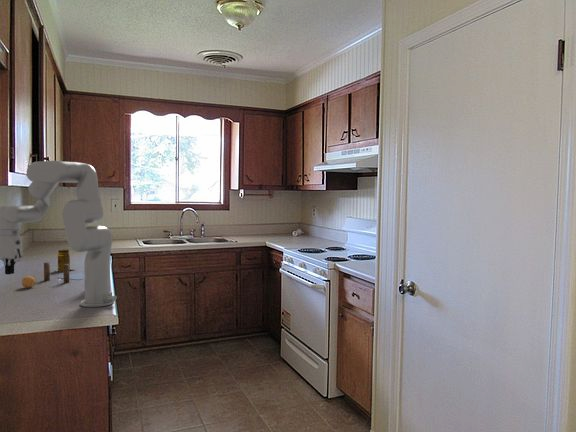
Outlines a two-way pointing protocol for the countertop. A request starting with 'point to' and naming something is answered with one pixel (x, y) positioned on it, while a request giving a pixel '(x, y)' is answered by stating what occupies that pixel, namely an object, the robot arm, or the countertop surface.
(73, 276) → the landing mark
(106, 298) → the robot arm
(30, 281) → the ball
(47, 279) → the left post
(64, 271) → the right post
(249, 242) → the countertop surface
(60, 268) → the condiment
